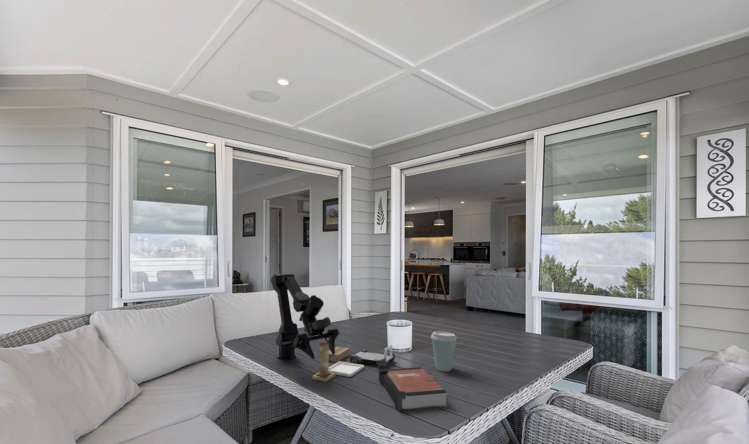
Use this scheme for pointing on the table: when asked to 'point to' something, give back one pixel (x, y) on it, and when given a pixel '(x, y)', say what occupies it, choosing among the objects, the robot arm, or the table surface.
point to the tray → (345, 369)
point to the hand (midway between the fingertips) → (324, 356)
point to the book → (412, 388)
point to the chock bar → (339, 354)
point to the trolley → (374, 357)
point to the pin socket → (317, 377)
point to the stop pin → (324, 360)
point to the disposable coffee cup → (443, 349)
